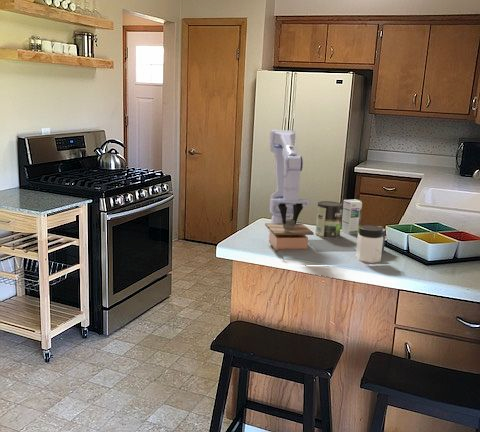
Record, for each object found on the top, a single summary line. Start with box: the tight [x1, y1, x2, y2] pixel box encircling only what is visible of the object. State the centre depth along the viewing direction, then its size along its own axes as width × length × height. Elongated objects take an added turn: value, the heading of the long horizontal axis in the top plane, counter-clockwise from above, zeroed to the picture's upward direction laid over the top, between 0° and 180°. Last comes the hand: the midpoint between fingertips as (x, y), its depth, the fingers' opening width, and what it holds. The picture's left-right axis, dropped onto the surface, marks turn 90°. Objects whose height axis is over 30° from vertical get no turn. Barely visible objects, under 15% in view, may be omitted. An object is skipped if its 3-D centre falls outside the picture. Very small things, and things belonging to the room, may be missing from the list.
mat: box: [308, 239, 356, 253], centre depth 197 cm, size 16×16×1 cm
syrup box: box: [340, 199, 363, 235], centre depth 217 cm, size 6×6×14 cm
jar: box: [355, 224, 384, 264], centre depth 180 cm, size 9×8×12 cm
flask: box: [377, 225, 387, 253], centre depth 189 cm, size 9×3×11 cm, turn 138°
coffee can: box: [315, 200, 343, 239], centre depth 210 cm, size 10×10×14 cm
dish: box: [268, 230, 309, 252], centre depth 194 cm, size 12×12×5 cm
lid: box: [264, 218, 315, 236], centre depth 193 cm, size 15×15×4 cm
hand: (289, 223), depth 193 cm, fingers closed on lid, 3 cm apart
